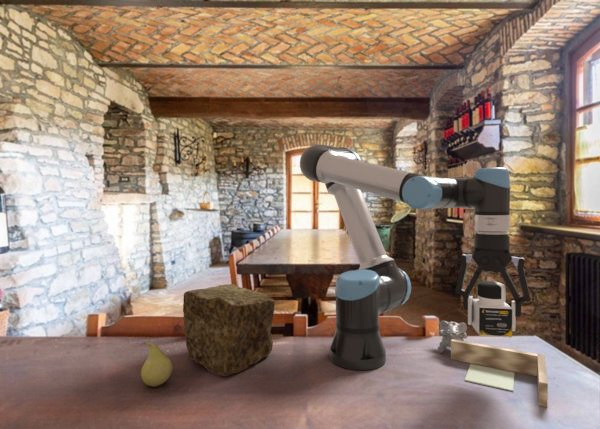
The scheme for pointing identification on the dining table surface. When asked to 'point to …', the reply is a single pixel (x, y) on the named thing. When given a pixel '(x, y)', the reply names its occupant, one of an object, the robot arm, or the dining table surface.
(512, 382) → the pad
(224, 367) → the decorative stone
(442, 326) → the elephant statuette
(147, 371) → the fruit
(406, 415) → the dining table surface
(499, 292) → the medicine bottle
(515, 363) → the corner arena
